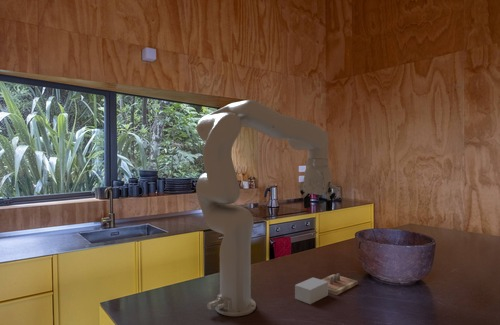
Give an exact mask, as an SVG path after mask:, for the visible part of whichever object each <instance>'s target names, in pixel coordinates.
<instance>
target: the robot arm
mask: <svg viewBox="0 0 500 325" xmlns="http://www.w3.org/2000/svg"><path fill="white" fill-rule="evenodd" d="M242 128H249V129H252V130H254V131H257V132H259V133H261V134H263V135H265V136H268V137H270V138H272V139H277V140H287V141H288V145H289V147H291V148H292V149H293V150H295V151H296V150H297V151H307V160H305V164H306V165H307V167H305V171H304V176H303V182H302V183H301V184H299V185H298V190H299V193H300V194H301V195H302V198H303V205H304V206H303V208H304V209H308V208H311V197H310V195H319V196H321V195H322V196H323V195H324V196H325V198H326V200H325V211H326V212H330V211H332V210H333V204H334V202H333V200H335V198H336V197H337V195H338V193H339V191H340V188H339V187H338V186H336V185H334V184H333V183H332V180H333V179H332V173H331V167H329V133H328V131H326V130H323V129H322V128H321V127H320V126H318V125H315V124H314V123H313V122H309V121H306V120H304V119H300V118H296V117H293V116H290V115H285V114H282V113H280V112H278V111H276V110H274V109H273V108H270V107H269V106H266V105H265V104H263V103H261V102H259V101H257V100H254V99H246V100H244V99H243V100H241V101H235V102H231V103H229V104H227V105H225V106H223V107H221V108H219V109H216V110H214V111H212V112H211V113H208V114H205V115H204V116H202V117H201V118H200V119H199V120H198V122H197V125H196V132H197V135H198V136H199V138H200V139H201V140H202V141H204V142H205V144H204V145H203V148H202V149H203V150H202V163H203V168H204V171H205V172H204V173H203V174H201V175H200V176H198V179H197V182H196V186H195V192H196V197H197V200H198V203H199V206H200V209H201V213H202V216H203V218H204V219H203V220H204V221H205V223H206V225H207V227H208V228H209V229H210V230H212V231H214V232H216V233H219V234H222V235H223V237H222V240H221V243H220V247H219V294H217V295H216V296H217V298H216V299H215V300H212V301H210V302H208V303H206V307H207V309H208V310H213V309H215V311H216V312H217V313H218V314H220V315H223V316H227V317H242V316H246V315H250V314H251V313H252V312H254V311H255V310H256V307H257V304H256V301H255V300H254V299H253V298H252V296H251V295H252V294H251V293H252V292H251V288H252V286H251V279H252V278H251V276H252V275H251V272H252V271H251V270H252V269H251V268H252V266H251V261H252V259H251V258H252V257H251V255H252V254H251V253H252V252H251V251H252V250H251V248H252V247H251V245H252V235H253V231H254V224H255V223H254V217H253V214H252V213H251V211H250V210H249V209H247V208H245V207H244V206H240V205H236V204H234V203H236V202H237V201H238V200H239V198H240V195H241V187H240V182H239V179H238V176H237V172H236V169H235V165H234V162H233V157H232V149H233V146H234V144H235V142H236V140H237V138H238V137H239V135H240V134H241V129H242Z"/></svg>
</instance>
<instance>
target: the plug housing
mask: <svg viewBox="0 0 500 325" xmlns="http://www.w3.org/2000/svg"><path fill="white" fill-rule="evenodd" d="M327 296H329V293H328V282H327V281H323V280H321V279H320V278H316V277H310V278H308V279H306V280H304V281H301V282H299V283H296V284H295V285H294V299H295V300H298V301H300V302H302V303H303V302H304V303H305V304H309V305H312V304H314V303H315V302H317V301H319V300H321V299H323V298H326V297H327Z"/></svg>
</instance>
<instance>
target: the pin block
mask: <svg viewBox="0 0 500 325" xmlns="http://www.w3.org/2000/svg"><path fill="white" fill-rule="evenodd" d="M320 280H323V281H327V282H328V294H331V295H335V296H338V295H340V294H341V293H344V292H345V291H347V290H349V289H351V288H353V287H355V286H357V285H358V283H359V282H358V280H356V279H351V278H348V277H345V276H341V273H339V272H338V273H336V274H334V273H333V274H331V275H328V276H326V277H324V278H322V279H320Z"/></svg>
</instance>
